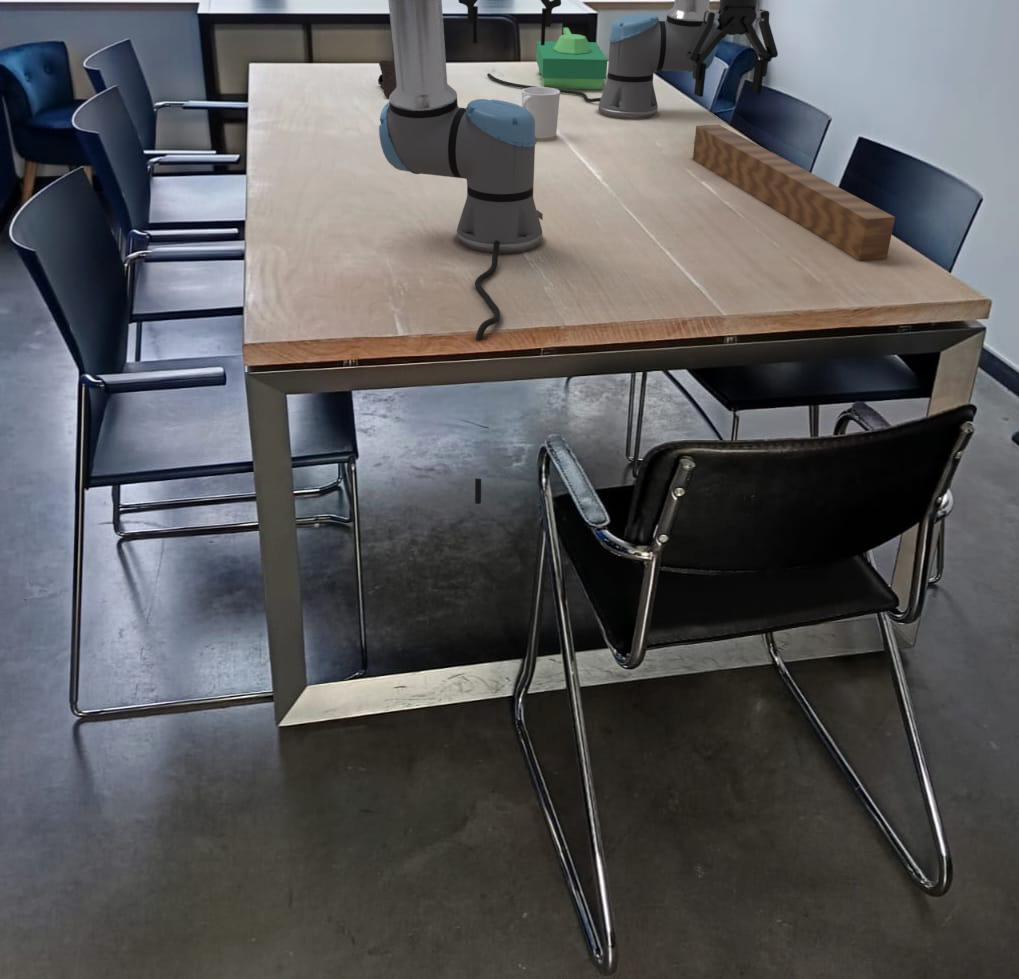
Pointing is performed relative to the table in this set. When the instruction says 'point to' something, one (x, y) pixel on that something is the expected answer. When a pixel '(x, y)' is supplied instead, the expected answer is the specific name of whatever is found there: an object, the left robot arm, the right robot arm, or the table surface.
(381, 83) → the axe head
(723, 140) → the post
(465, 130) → the left robot arm
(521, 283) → the table surface
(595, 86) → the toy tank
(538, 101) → the mug
